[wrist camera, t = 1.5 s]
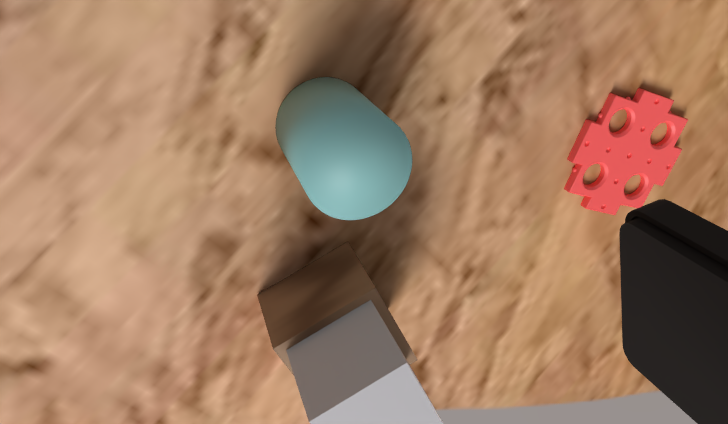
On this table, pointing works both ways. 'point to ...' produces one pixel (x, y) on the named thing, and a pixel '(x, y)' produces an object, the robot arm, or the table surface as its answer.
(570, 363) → the table surface
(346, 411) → the grey top block
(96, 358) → the table surface
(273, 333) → the walnut base block
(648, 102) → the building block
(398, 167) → the teal cylinder
